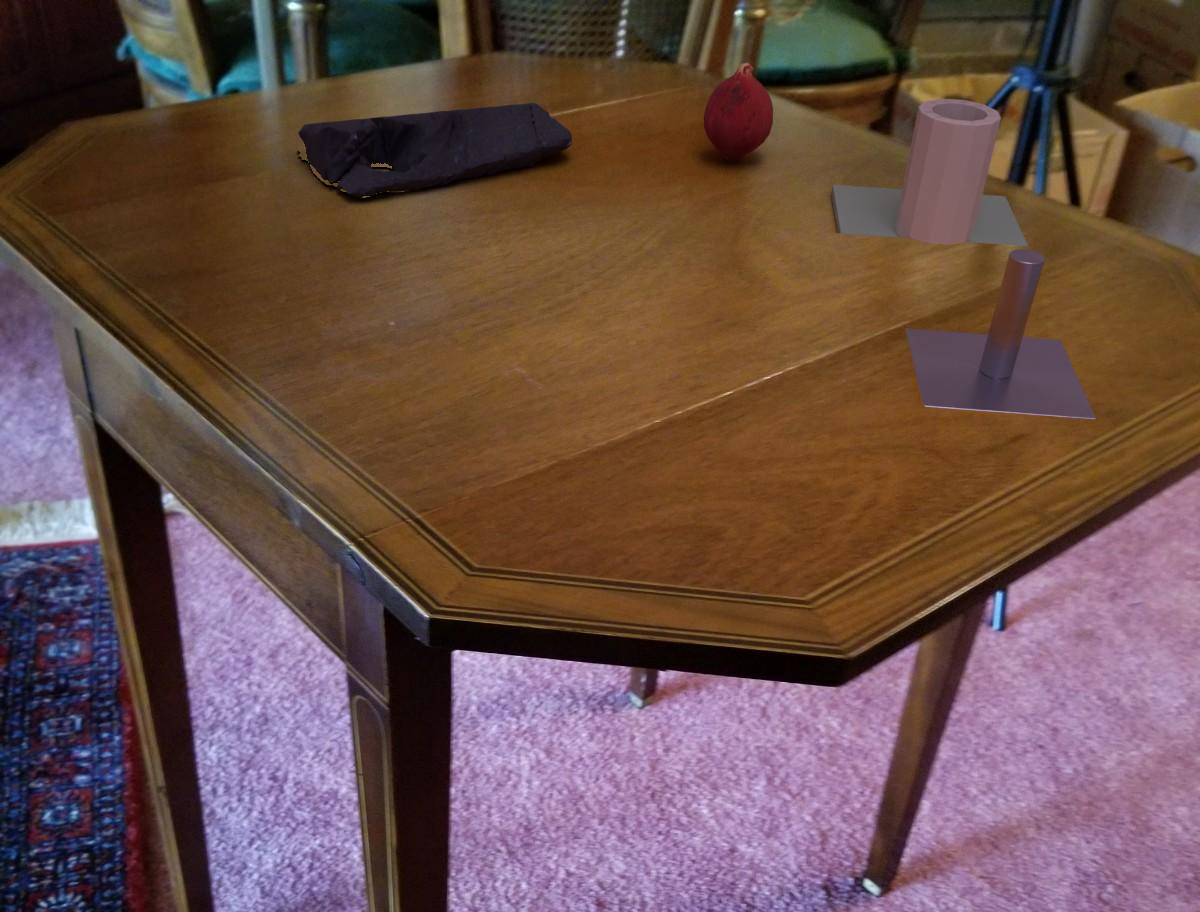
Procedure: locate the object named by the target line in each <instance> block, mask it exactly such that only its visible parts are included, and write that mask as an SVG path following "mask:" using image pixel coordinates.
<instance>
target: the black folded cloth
mask: <svg viewBox="0 0 1200 912" xmlns="http://www.w3.org/2000/svg"><path fill="white" fill-rule="evenodd" d="M298 136H299V137H300V139H301V140H302V142H304V144H305V147H306V154H307V159H308V161H309V163H310V164H311V165H312V166H313V167H314V168H315V169H316V171H317V172H318V173H319V174H320V175H321V177H322V178H323V179H324V180H328V181H329V183H330V184H333V183H338V185H337V189H338V190H339V191H340V189H343V190H345V191H347V193H346V194H348V195H350V196H353V197H355V196H356V198H359V197H363V196H373V197H374V195H375V194H376V193H380V192H387V191H405V192H407V191H419V190H421V189H424V187H425V188H432V187H441V186H442V187H443V186H445V185H447V184H449V183H451V182H453V181H459V180H465V179H467V180H468V179H475V178H480V177H483V175H485V176H492V175H495V174H496V173H503V172H505V171H512V170H519V169H521V168H523V167H528V168H529V167H530V168H532V167H534V166H535V163H537V162H540V160H542V159H547V158H549V157H552V156H553V155H554V154H556V153H560V152H563V151H565V150H567V149H569V148H570V147H571V146H572V144H573V135H572V133H571V131H570V130H569V129H568V128H567V127H566V126H564V125H563V124H562V123H561V122H559V121H558V120H557V119H556V118H555V117H552V116H551V115H550V114H549V112H548V111H547V110H545V108H543V107H542V106H540V104H537V102H529V103H518V104H506V105H497V106H483V107H474V108H464V109H452V110H438V111H430V112H422V113H409V114H408V113H407V114H399V115H398V114H397V115H391V116H388V115H387V116H376V117H369V118H355V119H347V120H345V119H344V120H337V121H322V122H313V123H306V124H304V125H302V127H301V128H300V129H299V131H298ZM372 163H373V164H376V163H379V164H380V163H381V164H384V163H386V164H388V165H389V166H392V169H393V170H388V171H387V170H386V171H384V170H375V168H372V167H371V164H372ZM338 181H340V182H338ZM410 189H412V190H410ZM375 196H376V195H375Z"/></svg>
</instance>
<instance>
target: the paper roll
mask: <svg viewBox="0 0 1200 912" xmlns="http://www.w3.org/2000/svg"><path fill="white" fill-rule="evenodd" d="M1001 121H1002V117H1001V114H1000V113H999V111H998V110H997V109H995V108H992V107H990V106H988V105H986V104H984V103H979V102H975V101H970V100H966V99H954V98H940V99H939V98H938V99H932V100H931V99H930V100H927V101H925V102H923V103H922V104H919V106H918V107H917V112H916V118H915V123H914V128H913V133H912V138H911V143H910V148H909V153H908V157H907V164H906V169H905V173H904V178H903V184H902V187H901V189H902V193H901V198H900V203H899V208H898V213H897V218H896V223H895V229H896V233H897V235H898V236H900V237H899V238H901V239H902V238H903V239H912V240H914V241H919V242H922V243H926V244H931V245H944V246H945V245H946V246H947V245H948V246H950V245H955V244H962V243H970V242H969V241H970V240H972V236H973V232H974V228H975V224H976V220H977V215H978V211H979V207H980V203H981V199H982V195H984V190H985V187H986V182H987V178H988V173H989V169H990V165H991V163H992V157H993V153H994V150H995V149H994V148H995V145H996V140H997V137H998V132H999V129H1000V124H1001Z"/></svg>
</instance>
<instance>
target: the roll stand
mask: <svg viewBox="0 0 1200 912" xmlns="http://www.w3.org/2000/svg"><path fill="white" fill-rule="evenodd" d="M1045 261H1046V258H1045V256H1044V255H1043V254H1042V253H1040V252H1039V251H1035V250H1032V249H1031V250H1030V249H1024V248H1023V249H1022V248H1019V249H1013V250H1011V251H1010V252H1009V254H1008V257H1007V261H1006V265H1005V269H1004V272H1003V277H1002V280H1001V284H1000V288H999V291H998V295H997V299H996V303H995V306H994V310H993V314H992V318H991V321H990V325H989V329H988V332H987V333H975V332H964V331H963V332H960V331H948V330H936V329H935V330H933V329H921V328H919V329H918V328H908V327H906V328H904V330H905V335H906V339H907V342H908V346H909V350H910V355H911V359H912V364H913V367H914V373H915V376H916V380H917V385H918V389H919V393H920V396H921V397H920V398H921V402H922V406H923V407H925V408H926V407H927V408H936V409H937V408H940V409H953V410H966V411H980V412H991V413H993V412H994V413H1004V414H1005V413H1007V414H1016V415H1017V414H1019V415H1030V416H1031V415H1032V416H1042V417H1043V416H1045V417H1056V418H1057V417H1058V418H1072V419H1085V420H1097V417H1096V415H1095V413H1094V410H1093V409H1092V406H1091V404H1090V402H1089V399H1088V397H1087V394H1086V392H1085V391H1084V388H1083V386H1082V384H1081V381H1080V379H1079V377H1078V375H1077V371H1075V368H1074V365H1073V364H1072V362H1071V360H1070V357H1069V355H1068V352H1067V351H1066V347H1065V345H1064V343H1063V340H1061V339H1060V338H1059V339H1058V338H1044V337H1030V336H1024V335H1025V331H1026V328H1027V325H1028V321H1029V318H1030V314H1031V310H1032V307H1033V303H1034V300H1035V296H1036V293H1037V290H1038V286H1039V282H1040V279H1041V275H1042V271H1043V268H1044V266H1045V265H1044V264H1045Z"/></svg>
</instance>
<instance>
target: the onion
mask: <svg viewBox="0 0 1200 912" xmlns="http://www.w3.org/2000/svg"><path fill="white" fill-rule="evenodd" d="M753 72H754V67H753V66H752V65H751V64H750V63H749V62H744V63H741V64H740V65H739V66H738V68H737V69H736V70H735V72H734V73H733V75H731V76H729V77H727V78H725V79H724V80H722V82H720V83H719V84H718V85H717V86H716V88H715V89H714V90H713V91H712V92H711V94H710V95H709V98H708V101H707V102H706V106H705V109H704V113H703V129H704V131H705V134H706V137H707V139H708V140H709V142H710V143H711V144H712V146H713V147H714V149H715V150H716V151H717V152H718V153H719V154H720V155H722V156H723V157H724V158H725V159H727V160H728V161H730V162H732V163H738V162H740V161H742V160H743V159H744V158H745V157H747V156H748V155H750V154H751V153H753V152H754V151H756V150H757V149H758V148H759V147H760V146H762V145H763V144H764V143H765V142H766V140H767V139H768V137H769V136H770V134H771V132H772V128H773V121H774V105H773V101H772V99H771V96H770V94H769V92H768V90H767V89H766V88H765V86H764V85H763V84H762V83H761V82H760V81H759V80H758V79H757V78H755V77H754V76H753Z"/></svg>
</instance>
